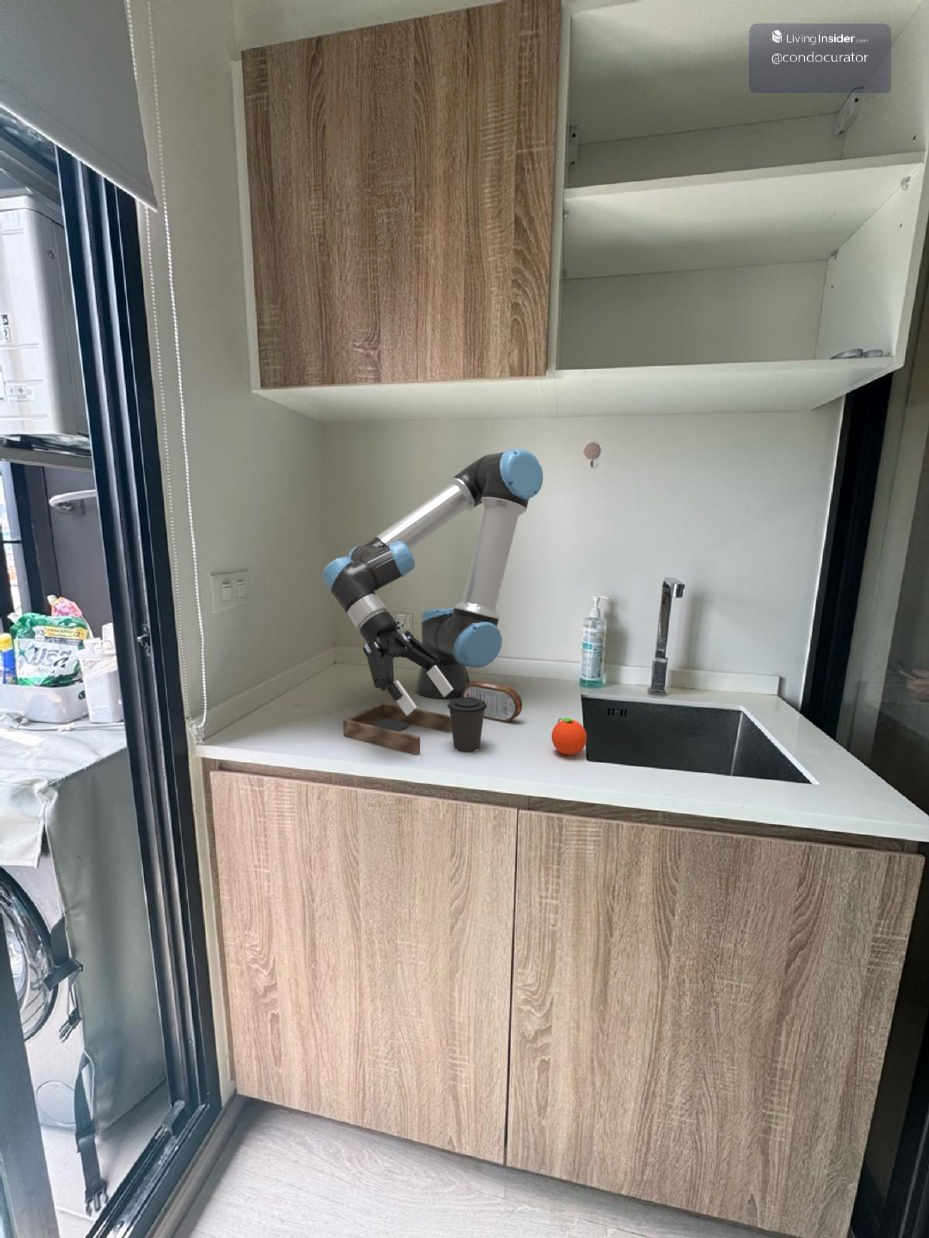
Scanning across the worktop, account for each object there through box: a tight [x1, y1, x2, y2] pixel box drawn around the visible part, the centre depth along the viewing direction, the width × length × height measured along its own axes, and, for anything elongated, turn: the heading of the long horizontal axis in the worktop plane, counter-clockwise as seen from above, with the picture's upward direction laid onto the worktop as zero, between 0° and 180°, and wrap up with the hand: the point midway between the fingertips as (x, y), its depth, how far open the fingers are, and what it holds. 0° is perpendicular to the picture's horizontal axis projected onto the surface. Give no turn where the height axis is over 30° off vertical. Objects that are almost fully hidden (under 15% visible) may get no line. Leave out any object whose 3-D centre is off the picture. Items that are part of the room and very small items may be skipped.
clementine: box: [551, 717, 588, 756], centre depth 105 cm, size 8×7×7 cm
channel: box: [342, 701, 452, 756], centre depth 114 cm, size 19×14×4 cm
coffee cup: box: [447, 697, 487, 753], centre depth 107 cm, size 8×8×10 cm
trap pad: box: [372, 718, 412, 732], centre depth 116 cm, size 7×11×1 cm, turn 151°
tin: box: [461, 680, 523, 723], centre depth 124 cm, size 15×3×8 cm, turn 59°
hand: (431, 701), depth 107 cm, fingers open, 13 cm apart
